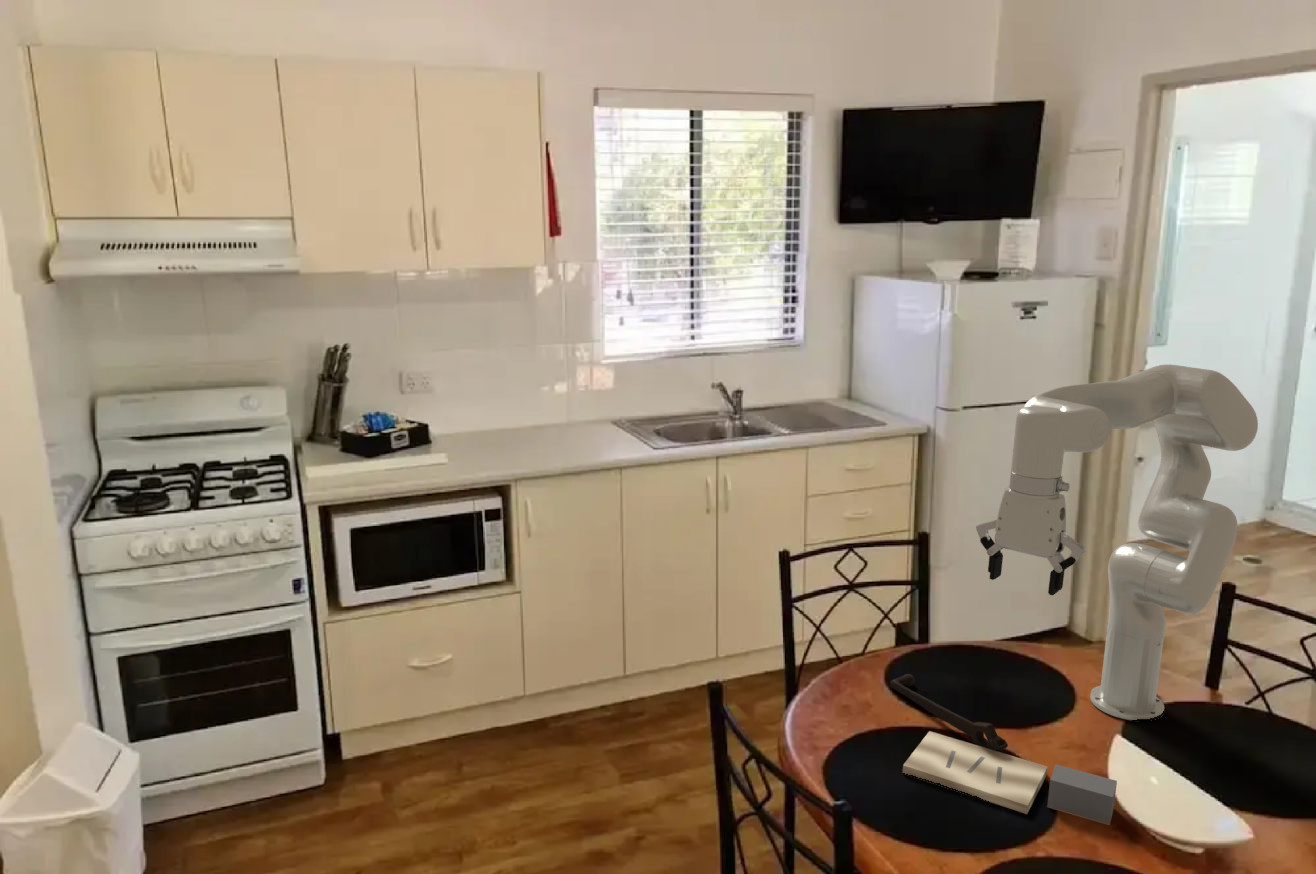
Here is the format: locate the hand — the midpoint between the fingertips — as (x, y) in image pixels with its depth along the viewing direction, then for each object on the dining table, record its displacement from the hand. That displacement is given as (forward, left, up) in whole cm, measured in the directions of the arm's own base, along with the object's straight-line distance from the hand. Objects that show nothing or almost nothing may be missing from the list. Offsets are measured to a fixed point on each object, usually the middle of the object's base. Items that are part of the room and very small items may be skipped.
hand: (1023, 585), depth 159 cm
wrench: (-7, -12, -32) cm, 35 cm away
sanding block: (+8, +13, -32) cm, 35 cm away
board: (+8, -3, -32) cm, 33 cm away
